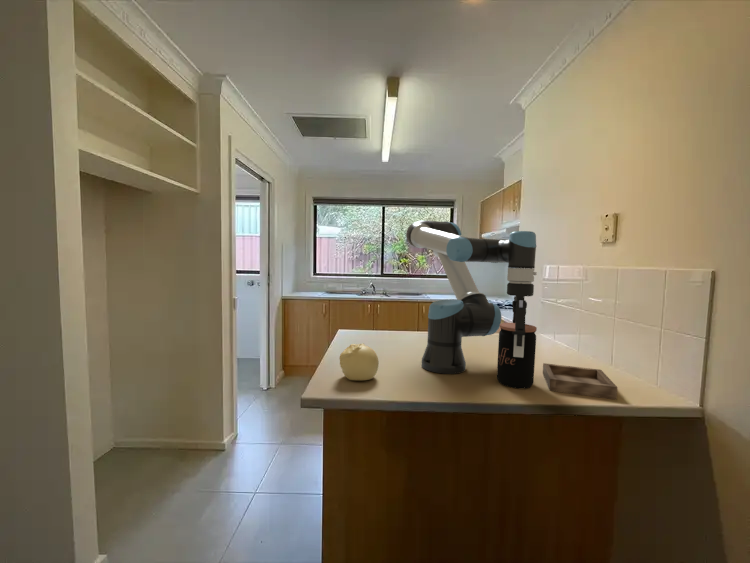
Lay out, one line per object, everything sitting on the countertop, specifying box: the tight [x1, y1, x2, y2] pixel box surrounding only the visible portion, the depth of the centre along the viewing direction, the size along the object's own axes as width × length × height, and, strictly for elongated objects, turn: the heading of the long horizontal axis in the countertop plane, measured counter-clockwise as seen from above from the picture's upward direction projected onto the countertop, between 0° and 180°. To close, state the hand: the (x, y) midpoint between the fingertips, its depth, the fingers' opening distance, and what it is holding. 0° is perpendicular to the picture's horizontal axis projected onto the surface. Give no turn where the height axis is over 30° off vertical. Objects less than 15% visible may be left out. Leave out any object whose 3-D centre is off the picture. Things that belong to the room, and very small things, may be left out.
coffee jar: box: [496, 322, 538, 389], centre depth 110 cm, size 11×11×18 cm
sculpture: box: [339, 343, 379, 381], centre depth 111 cm, size 12×12×11 cm
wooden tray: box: [542, 362, 618, 400], centre depth 111 cm, size 17×17×4 cm
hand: (517, 351), depth 110 cm, fingers open, 13 cm apart
